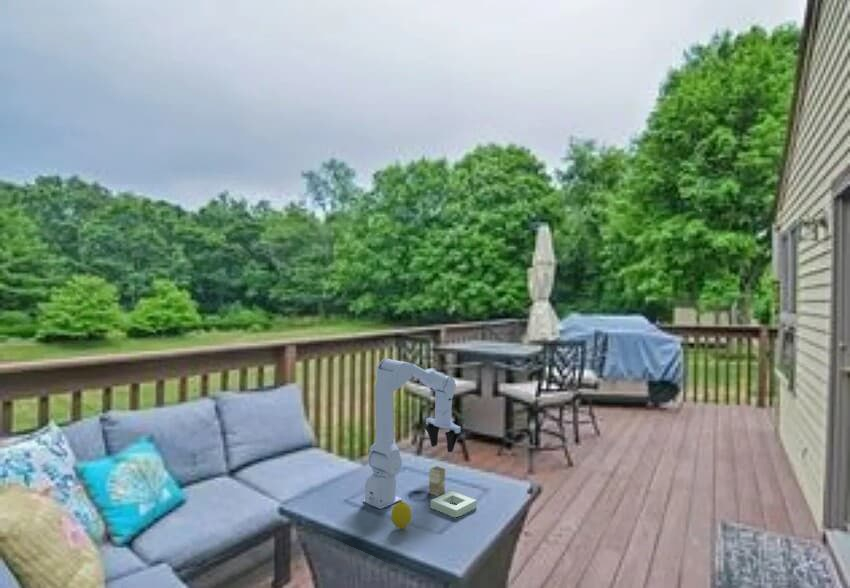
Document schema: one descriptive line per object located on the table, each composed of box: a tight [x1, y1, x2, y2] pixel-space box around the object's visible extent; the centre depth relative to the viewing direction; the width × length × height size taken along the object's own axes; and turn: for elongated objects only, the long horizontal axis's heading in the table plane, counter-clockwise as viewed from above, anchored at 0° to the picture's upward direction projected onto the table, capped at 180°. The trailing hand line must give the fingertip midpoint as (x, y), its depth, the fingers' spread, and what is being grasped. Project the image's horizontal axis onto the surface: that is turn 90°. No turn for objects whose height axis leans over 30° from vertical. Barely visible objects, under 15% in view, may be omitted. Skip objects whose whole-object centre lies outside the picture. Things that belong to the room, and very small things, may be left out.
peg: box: [428, 465, 446, 497], centre depth 189 cm, size 4×4×8 cm
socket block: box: [430, 490, 478, 518], centre depth 178 cm, size 10×10×2 cm
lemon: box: [391, 500, 412, 530], centre depth 164 cm, size 6×6×8 cm
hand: (442, 448), depth 202 cm, fingers open, 7 cm apart
